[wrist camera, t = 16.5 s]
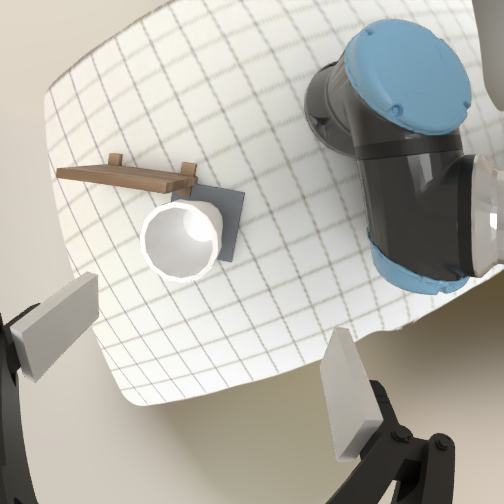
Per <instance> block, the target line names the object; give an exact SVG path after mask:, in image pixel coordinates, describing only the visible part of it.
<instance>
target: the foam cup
mask: <svg viewBox="0 0 504 504" xmlns="http://www.w3.org/2000/svg"><path fill="white" fill-rule="evenodd" d="M222 229H223V218H222V215H221V213H220V211H219V209H218V208H217V207H216V206H214V205H213V204H211V203H209V202H203V201H188V200H182V199H179V200H176V201H173V202H169V203H166V204H163V205H161V206H158V207H157V208H156V209H155V210H154V211H153V212H152V213H151V214H150V215H149V216H148V217H147V218H146V219H145V221H144V224H143V227H142V230H141V233H140V242H141V250H142V254H143V256H144V258H145V259H146V261H147V263H148V264H149V266H150V268H151V269H152V270H154V271H155V272H156V273H158V274H159V275H160V276H162V277H163V278H164V279H167V280H171V281H175V282H180V283H184V282H189V281H193V280H198V279H199V278H201V277H202V276H203V275H204V274H206V273H207V272H208V271H209V270H210V269H212V267H213V265H214V263H215V261H216V259H217V256H218V254H219V252H220V249H221V247H222V243H221V236H222Z"/></svg>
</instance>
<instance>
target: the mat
mask: <svg viewBox="0 0 504 504" xmlns="http://www.w3.org/2000/svg"><path fill="white" fill-rule="evenodd" d="M177 193H178V190H176V191H173V192H172V197H171V202H173V201H176V200H179V199H182V200H188V201H203V202H209V203H211V204H213V205H214V206H216V207H217V208H218V209H219V211H220V213H221V215H222V218H223V229H222V236H221V243H222V247H221V249H220V252H219V254H218V256H217V259H218V260H223V261H227V262H232V257H233V252H234V246H235V241H236V236H237V230H238V225H239V220H240V214H241V209H242V204H243V199H244V192H238V191H233V190H228V189H222V188H217V187H211V186H206V185H200V184H196V185H193V186H192V189H191V196H190V197H188V196H182V195H177Z"/></svg>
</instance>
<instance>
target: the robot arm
mask: <svg viewBox="0 0 504 504" xmlns="http://www.w3.org/2000/svg"><path fill="white" fill-rule="evenodd" d="M304 106H305V114H306V118H307V121H308V123H309V125H310V127H311V129H312V131H313V132H314V134H315V135H316V136H317V137H318V139H319V140H320V141H321V142H322V143H324V144H325V145H326V146H327V147H329V148H330V149H332V150H334V151H336V152H338V153H341V154H344V155H348V156H355V157H356V158H357V164H358V169H359V175H360V180H361V185H362V191H363V197H364V203H365V210H366V216H367V223H368V227H367V238H368V240H369V243H370V245H371V251H372V258H373V263H374V265H375V267H376V269H377V271H378V272H379V274H380V275H381V276H382V277H383V278H384V279H385V280H387V281H388V282H389V283H391V284H393V285H394V286H396V287H399V288H401V289H403V290H406V291H410V292H413V293H419V294H426V295H437V294H438V292H439V291H440V292H443V293H445V294H447V293H451V292H454V291H457V290H459V289H460V288H461V287H463V286H464V285H465V284H466V283H467V281H468V279H469V278H470V277H476V278H481V277H483V276H484V275H485V274H486V273H487V272H488V271H489V270H490V269H491V268H492V267H493V266H495V265H497V264H504V171H499V170H496V169H495V168H494V167H493V166H492V165H491V164H490V163H489V162H488V161H487V160H486V159H485V158H484V157H483V156H482V155H464V153H463V149H462V142H461V137H460V131H459V126H460V124H461V123H462V122H463V121H464V120H465V118H466V117H467V109H468V108H469V107H470V106H471V87H470V82H469V79H468V76H467V73H466V71H465V69H464V66H463V65H462V63H461V61H460V60H459V58H458V56H457V55H456V54H455V52H454V51H453V50H452V49H451V48H450V47H449V45H448V44H447V43H445V42H444V41H443V40H442V39H439V38H437V37H436V36H435V35H434V34H433V33H432V32H431V31H430V30H428V29H427V28H425V27H423V26H421V25H418V24H416V23H413V22H410V21H406V20H400V19H385V20H380V21H376V22H374V23H371V24H369V25H368V26H366V27H365V28H364V29H363V30H362V31H361V32H360V33H359V34H357V35H356V36H354V37H353V38H352V39H351V41H350V42H349V43H348V44H347V46H346V49H345V51H344V52H343V54H342V56H341V57H340V59H339V60H338V61H336V62H333V63H331V64H328V65H326V66H325V67H323V68H322V69H321V70H319V71H318V72H317V73H316V74H315V76H314V77H313V78H312V80H311V82H310V84H309V86H308V88H307V91H306V95H305V102H304ZM98 317H99V304H98V275H97V274H93V273H90V272H86V273H84V274H83V275H81V276H80V277H78V278H77V279H75V280H74V281H72V282H71V283H70V284H68V285H67V286H65V287H64V288H62V289H61V290H60V291H58V292H57V293H55V294H54V295H52V296H51V297H49V298H48V299H47V300H45V301H44V302H43V303H38V304H35V305H32V306H30V307H29V308H27V309H26V310H25V311H24V312H22V313H20V314H19V315H18V316H16V317H15V318H14V319H12V320H11V321H10V322H9V323H7V324H6V325H3V321H2V317H1V313H0V504H38V502H37V499H36V496H35V493H34V489H33V485H32V481H31V477H30V473H29V467H28V462H27V457H26V452H25V445H24V439H23V431H22V424H21V415H20V402H19V384H18V374H17V370H18V369H19V368H20V367H21V369H22V372H23V375H24V377H26V378H27V379H29V380H31V381H33V382H34V383H36V382H37V381H38V380H39V379H40V378H41V376H42V375H43V374H44V373H45V372H46V371H47V370H48V369H49V368H50V367H51V366H52V364H54V362H55V361H56V360H57V359H58V358H59V357H60V356H61V355H62V354H63V353H64V352H65V351H66V350H67V349H68V348H69V347H70V346H71V345H72V344H73V342H75V341H76V339H78V337H80V335H81V334H82V333H83V332H84V331H85V330H86V329H87V328H88V327H89V326H90V325H91V324H92V323H93V322H94V321H95V320H96V319H97V318H98ZM320 372H321V377H322V382H323V388H324V393H325V398H326V403H327V409H328V414H329V420H330V425H331V431H332V437H333V443H334V449H335V456H336V461H339V462H344V461H347V462H348V461H354V460H355V458H356V457H357V456H358V455H359V454H360V458H361V462H360V463H359V464H358V466H357V467H356V468H355V469H354V470H353V471H352V473H351V474H350V476H349V477H348V478H347V479H346V481H345V482H344V483H343V484H342V485H341V486H340V488H339V489H338V490H337V491H336V492H335V494H334V495H333V496H332V497H331V498H330V499H329V500H328V501H327V502H326V503H325V504H378V502H379V501H380V499H381V498H382V496H383V494H384V493H385V491H386V490H387V488H388V486H389V485H390V483H391V482H392V480H396V481H397V482H396V486H395V490H394V494H393V497H392V501H391V504H452V500H453V489H454V472H455V445H454V442H453V440H452V439H451V438H450V437H449V436H447V435H445V434H442V433H437V434H434V435H433V436H431V438H430V439H429V440H424V439H419V438H414V437H413V434H412V433H411V431H410V430H409V429H408V428H406V427H405V426H402V425H400V424H399V423H398V420H397V418H396V415H395V413H394V410H393V408H392V405H391V404H390V400H389V398H388V397H387V393H386V391H385V389H384V387H383V386H382V385H381V384H380V383H379V382H378V381H375V380H369V379H368V377H367V374H366V372H365V369H364V367H363V364H362V361H361V359H360V356H359V354H358V351H357V349H356V347H355V344H354V342H353V339H352V337H351V334H350V332H349V329H346V328H340V327H335V328H334V331H333V333H332V336H331V339H330V341H329V344H328V347H327V349H326V352H325V354H324V357H323V360H322V362H321V365H320Z"/></svg>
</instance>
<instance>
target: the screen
mask: <svg viewBox="0 0 504 504" xmlns="http://www.w3.org/2000/svg"><path fill="white" fill-rule="evenodd" d="M122 155H123V154H113V153H110V154H109V161H108V164H106V165H91V166H78V167H67V168H57V173H56V178H62V179H70V180H78V181H85V182H92V183H99V184H106V185H113V186H120V187H126V188H133V189H139V190H145V191H151V192H157V193H163V194H166V193H170V192H173V191H176V190H178V193H177V195H182V196H188V197H190V196H191V189H192V186H193V185H196V184H197V178H198V177H195V171H196V165H197V164H192V163H186V162H182V168H181V174H177V173H170V172H163V171H157V170H149V169H142V168H134V167H127V166H121V161H122Z"/></svg>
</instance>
